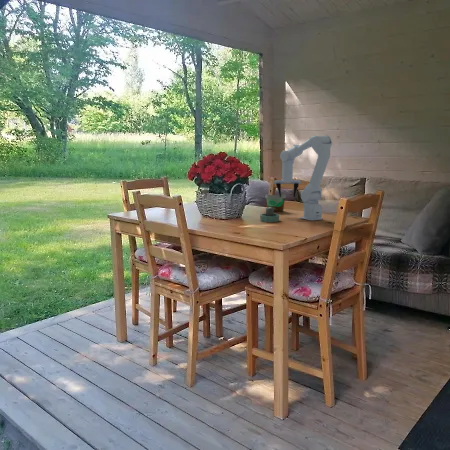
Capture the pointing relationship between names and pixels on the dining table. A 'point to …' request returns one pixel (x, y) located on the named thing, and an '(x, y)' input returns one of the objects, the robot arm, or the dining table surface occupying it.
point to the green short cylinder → (269, 218)
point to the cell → (269, 211)
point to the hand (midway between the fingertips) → (287, 196)
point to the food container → (275, 202)
